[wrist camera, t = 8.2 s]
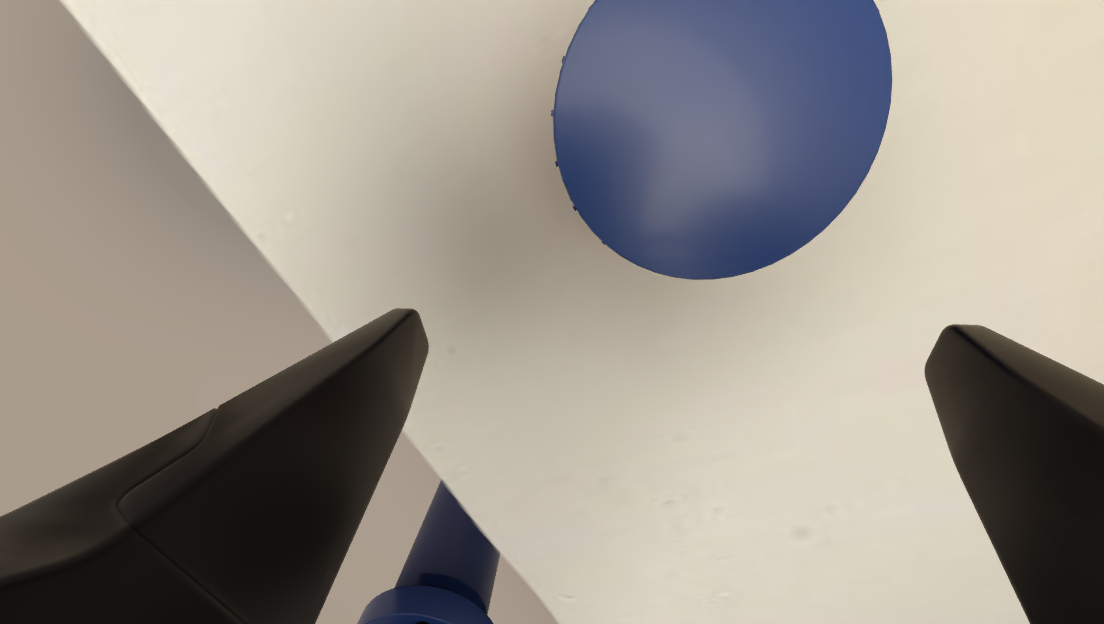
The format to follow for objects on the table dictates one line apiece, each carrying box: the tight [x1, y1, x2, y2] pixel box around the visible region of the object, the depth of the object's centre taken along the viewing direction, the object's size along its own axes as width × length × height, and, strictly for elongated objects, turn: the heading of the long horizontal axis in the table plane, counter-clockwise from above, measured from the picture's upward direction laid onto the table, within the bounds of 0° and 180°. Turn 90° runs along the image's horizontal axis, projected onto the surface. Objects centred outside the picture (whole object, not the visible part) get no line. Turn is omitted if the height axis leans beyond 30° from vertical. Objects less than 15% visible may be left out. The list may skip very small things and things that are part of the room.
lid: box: [551, 0, 892, 280], centre depth 10 cm, size 7×7×2 cm
